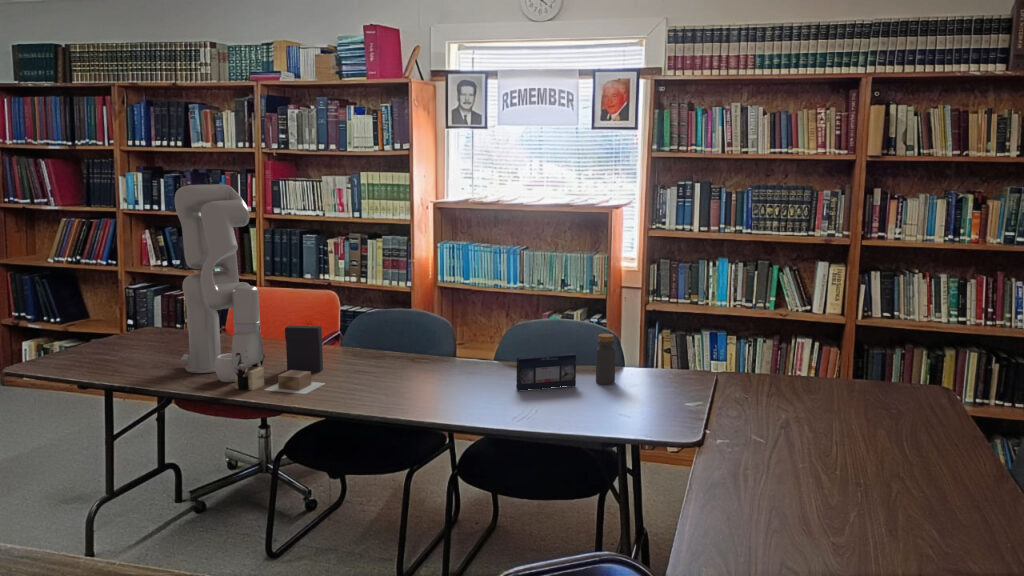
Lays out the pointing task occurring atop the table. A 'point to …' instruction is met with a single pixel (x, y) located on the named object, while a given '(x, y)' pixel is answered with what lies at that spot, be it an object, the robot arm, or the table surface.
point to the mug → (225, 368)
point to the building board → (302, 391)
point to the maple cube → (253, 377)
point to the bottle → (605, 360)
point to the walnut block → (294, 380)
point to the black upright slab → (304, 348)
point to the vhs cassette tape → (546, 371)
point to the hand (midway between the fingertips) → (249, 385)
